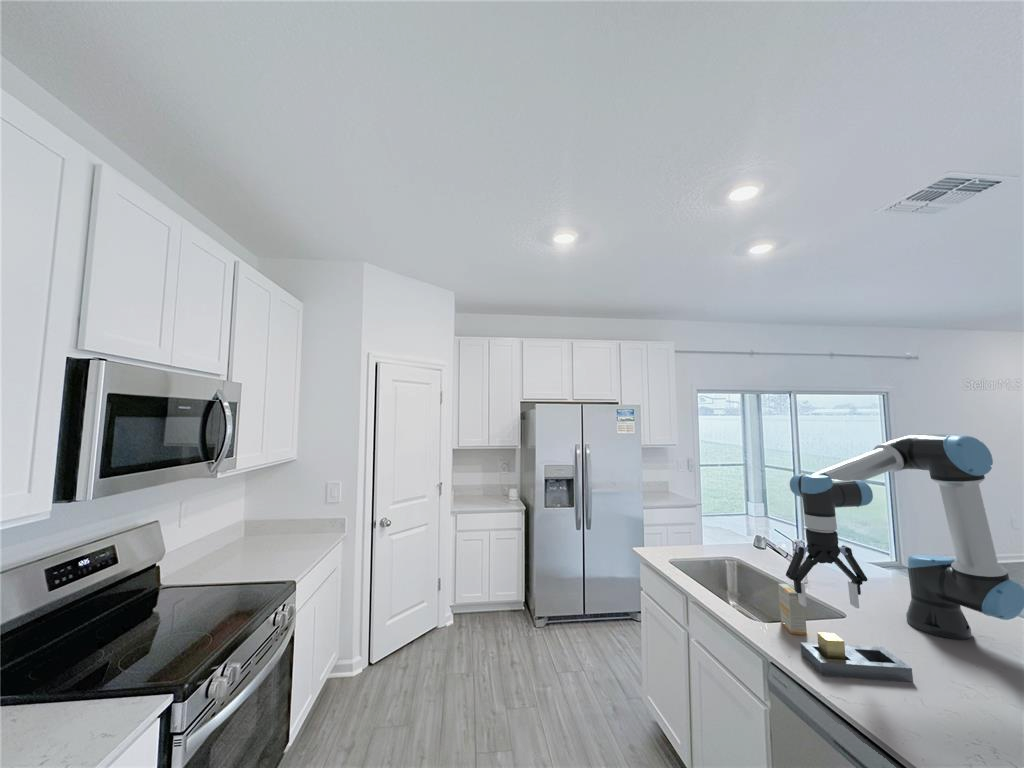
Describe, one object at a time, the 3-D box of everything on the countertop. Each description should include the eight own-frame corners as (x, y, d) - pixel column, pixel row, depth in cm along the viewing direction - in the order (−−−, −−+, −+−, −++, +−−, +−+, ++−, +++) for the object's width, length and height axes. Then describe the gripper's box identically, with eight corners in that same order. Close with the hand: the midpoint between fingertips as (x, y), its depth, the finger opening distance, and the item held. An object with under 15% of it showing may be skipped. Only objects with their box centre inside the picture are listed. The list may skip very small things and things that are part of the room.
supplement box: (807, 635, 134) (804, 593, 136) (791, 634, 135) (788, 592, 137) (796, 623, 142) (793, 583, 144) (780, 622, 143) (777, 582, 145)
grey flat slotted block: (884, 660, 120) (882, 647, 120) (913, 682, 110) (911, 668, 110) (801, 654, 123) (800, 642, 124) (822, 675, 113) (820, 662, 113)
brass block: (836, 662, 119) (834, 633, 120) (846, 671, 115) (844, 641, 115) (819, 661, 120) (817, 632, 121) (828, 670, 115) (826, 640, 116)
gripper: (859, 526, 123) (867, 601, 121) (768, 526, 126) (775, 598, 124) (877, 533, 115) (886, 612, 113) (781, 532, 119) (788, 609, 117)
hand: (828, 605), depth 119 cm, fingers open, 13 cm apart
